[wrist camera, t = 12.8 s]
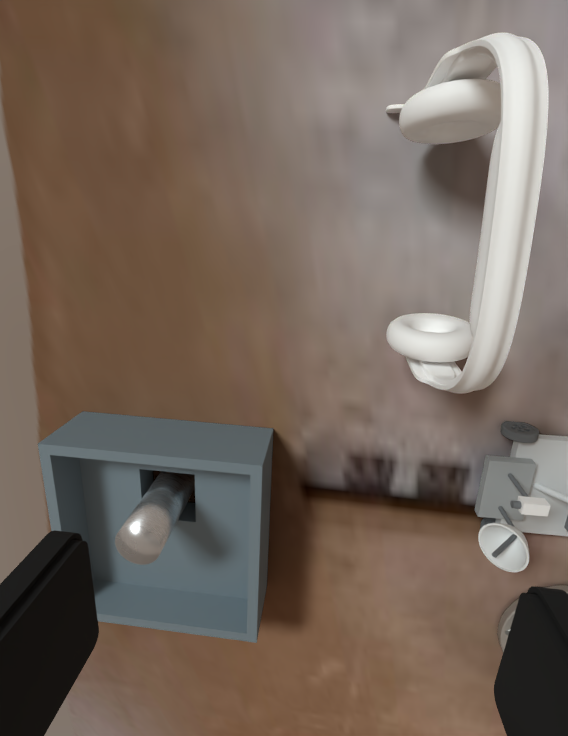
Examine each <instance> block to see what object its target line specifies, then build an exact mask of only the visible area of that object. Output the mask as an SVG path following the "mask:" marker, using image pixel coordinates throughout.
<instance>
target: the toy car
mask: <svg viewBox="0 0 568 736" xmlns="http://www.w3.org/2000/svg"><path fill="white" fill-rule="evenodd" d="M501 434H502V435H503V436H505V437H506V438H508V439H510V440H513V445H512V449H511V454H510V457H504V456H491V455H486V457H485V462H484V466H483V471H482V476H481V481H480V486H479V491H478V496H477V501H476V506H475V512H476V514H477V516H478V517H486V518H484V519H482V521H481V525H480V532H479V537H478V540H479V545H480V547H481V549H482V552H483V553H484V554H485V556H486V557H487V558H488V559H489V560H490V561H491V562H492V563H493V564H494V565H496V566H497V567H498V568H500V569H503V570H505V571H508V572H519V571H522V570H524V569H525V568H526V567H527V565H528V563H529V548H528V543H527V540H526V538H525V536H524V534H523V533H522V532H527V533H537V534H548V535H559V536H568V436H554V435H540V434H539V430H538V429H537V428H536V427H534V426H532V425H530V424H527V423H524V422H510V421H505V422H503V423H502V426H501ZM495 518H496V519H495Z"/></svg>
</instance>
